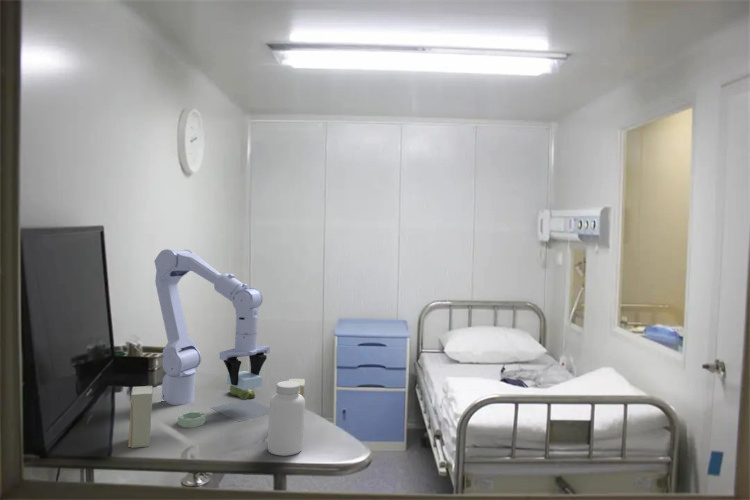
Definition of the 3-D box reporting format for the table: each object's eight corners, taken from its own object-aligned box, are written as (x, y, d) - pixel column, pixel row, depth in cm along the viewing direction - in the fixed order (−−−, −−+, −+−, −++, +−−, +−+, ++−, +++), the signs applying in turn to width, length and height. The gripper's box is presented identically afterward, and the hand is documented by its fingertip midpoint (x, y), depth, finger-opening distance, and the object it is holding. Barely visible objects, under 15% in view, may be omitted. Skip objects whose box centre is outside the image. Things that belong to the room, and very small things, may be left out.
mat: (210, 412, 133) (210, 407, 133) (248, 403, 142) (248, 399, 142) (238, 426, 123) (239, 421, 123) (277, 415, 132) (277, 411, 132)
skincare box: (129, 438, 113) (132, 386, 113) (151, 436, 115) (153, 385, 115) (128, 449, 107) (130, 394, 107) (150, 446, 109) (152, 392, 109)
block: (227, 383, 133) (227, 374, 133) (244, 380, 137) (245, 370, 137) (243, 390, 127) (244, 380, 127) (261, 386, 132) (262, 376, 132)
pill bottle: (295, 458, 106) (298, 390, 106) (261, 454, 108) (264, 386, 107) (307, 444, 114) (310, 380, 114) (275, 440, 115) (278, 377, 115)
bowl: (174, 427, 121) (174, 415, 121) (196, 421, 125) (197, 409, 125) (186, 433, 117) (186, 421, 117) (208, 427, 121) (209, 415, 121)
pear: (244, 375, 151) (261, 388, 144) (241, 391, 151) (258, 405, 144) (227, 378, 147) (244, 391, 140) (225, 395, 147) (241, 409, 140)
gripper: (230, 338, 124) (228, 391, 124) (277, 332, 135) (274, 381, 135) (216, 333, 129) (214, 385, 129) (262, 328, 140) (260, 376, 140)
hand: (244, 382), depth 132 cm, fingers closed on block, 6 cm apart
